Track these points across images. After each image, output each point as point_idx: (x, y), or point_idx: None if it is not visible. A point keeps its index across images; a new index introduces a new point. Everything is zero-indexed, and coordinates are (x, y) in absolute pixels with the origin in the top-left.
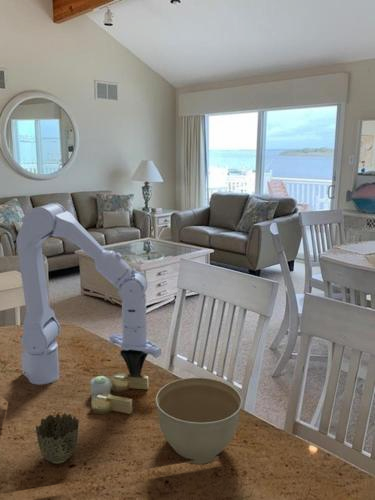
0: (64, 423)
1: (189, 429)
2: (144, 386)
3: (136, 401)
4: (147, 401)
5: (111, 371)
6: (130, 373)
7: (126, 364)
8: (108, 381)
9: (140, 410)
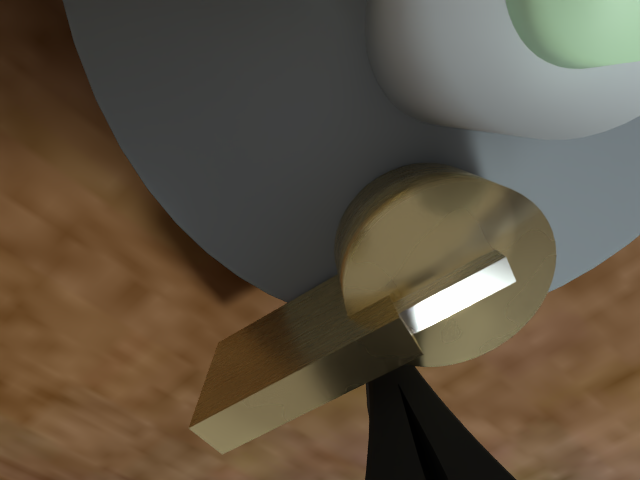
0: None
1: None
2: (231, 349)
3: None
4: (164, 268)
5: (614, 343)
6: (415, 390)
7: (507, 473)
8: (465, 48)
9: (83, 157)
